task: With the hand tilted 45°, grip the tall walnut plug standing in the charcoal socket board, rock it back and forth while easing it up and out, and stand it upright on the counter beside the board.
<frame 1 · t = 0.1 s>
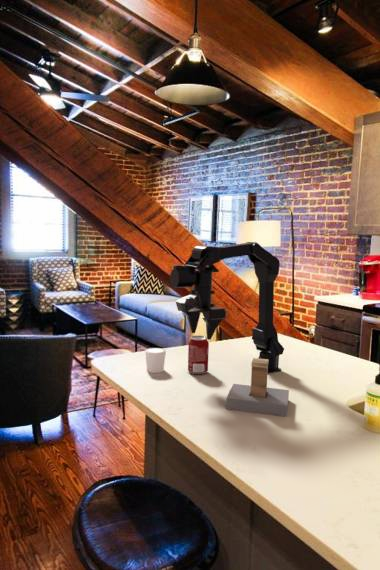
hand: (200, 336, 142), 15 cm above the kitchen island, tool pointing down, fingers open, 9 cm apart
socket board: (258, 404, 127), on the kitchen island
soda can: (197, 372, 153), on the kitchen island
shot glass: (155, 370, 154), on the kitchen island
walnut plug: (259, 382, 126), in the socket board
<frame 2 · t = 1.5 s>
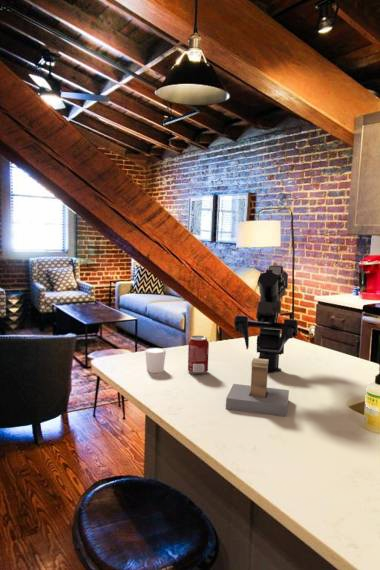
hand: (262, 350, 133), 13 cm above the kitchen island, tool tilted 45°, fingers open, 9 cm apart
nothing on the kitchen island moved.
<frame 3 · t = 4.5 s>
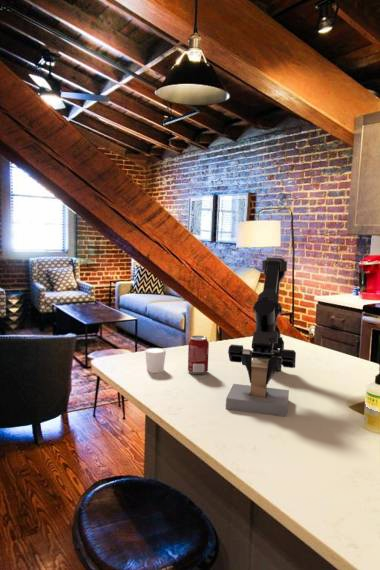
hand: (258, 383, 124), 7 cm above the kitchen island, tool tilted 45°, fingers closed on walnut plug, 4 cm apart
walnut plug: (259, 382, 126), in the socket board, touching gripper
everything else where it was.
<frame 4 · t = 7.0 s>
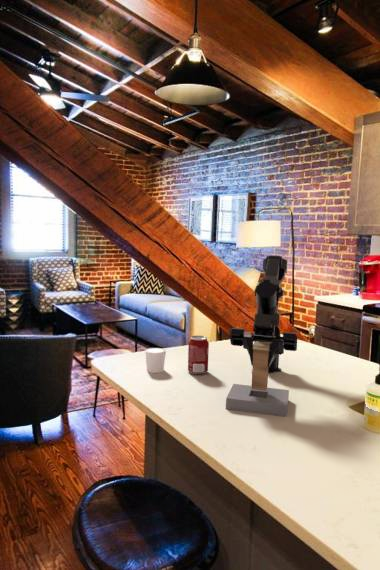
hand: (260, 365, 124), 11 cm above the kitchen island, tool tilted 45°, fingers closed on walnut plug, 4 cm apart
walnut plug: (260, 365, 125), point 11 cm above the kitchen island, touching gripper
everything else where it was.
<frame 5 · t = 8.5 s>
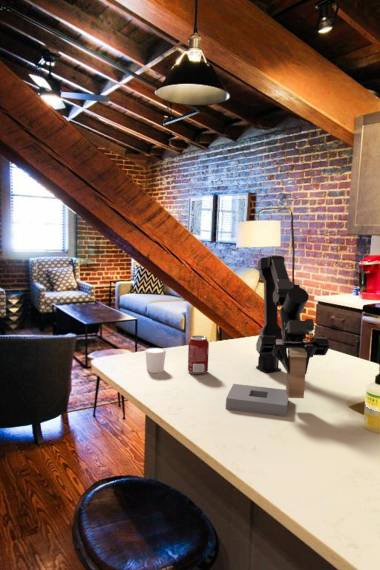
hand: (297, 373, 121), 11 cm above the kitchen island, tool tilted 45°, fingers closed on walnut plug, 4 cm apart
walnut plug: (295, 373, 123), point 10 cm above the kitchen island, touching gripper
everything else where it was.
when the fingers open (8 cm above the kitchen island, at t = 9.6 s): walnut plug drops 2 cm, on the kitchen island.
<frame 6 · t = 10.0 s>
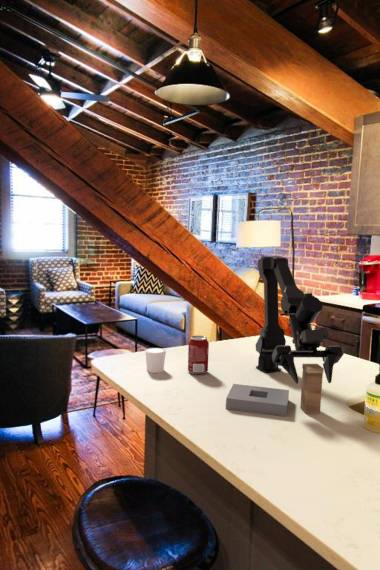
hand: (313, 382, 121), 8 cm above the kitchen island, tool tilted 45°, fingers open, 9 cm apart
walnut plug: (311, 388, 122), on the kitchen island
everything else where it was.
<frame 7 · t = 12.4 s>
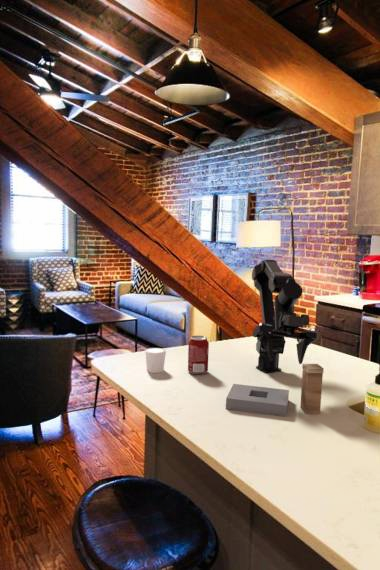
hand: (286, 361, 133), 10 cm above the kitchen island, tool tilted 35°, fingers open, 9 cm apart
nothing on the kitchen island moved.
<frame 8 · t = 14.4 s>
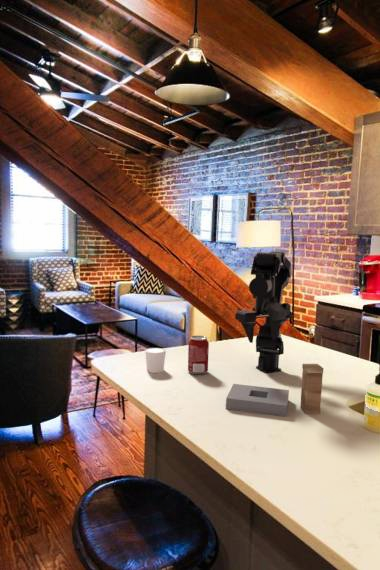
hand: (262, 341, 145), 13 cm above the kitchen island, tool pointing down, fingers open, 9 cm apart
nothing on the kitchen island moved.
at the end: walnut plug inside the target area (0.2 cm from its centre), on the kitchen island; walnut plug tilted 0°; the gripper is holding nothing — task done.
